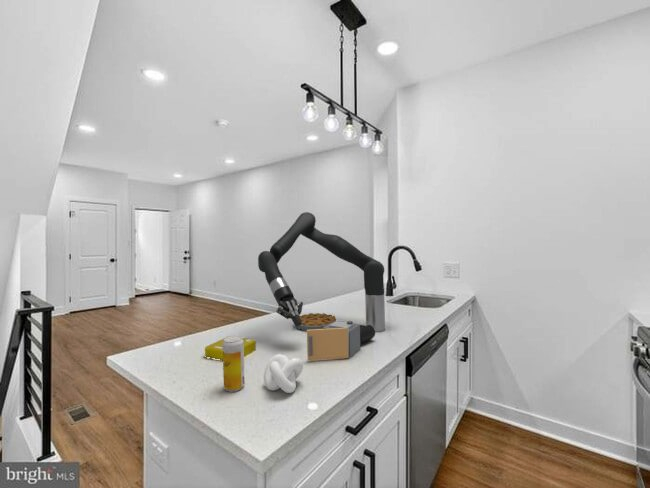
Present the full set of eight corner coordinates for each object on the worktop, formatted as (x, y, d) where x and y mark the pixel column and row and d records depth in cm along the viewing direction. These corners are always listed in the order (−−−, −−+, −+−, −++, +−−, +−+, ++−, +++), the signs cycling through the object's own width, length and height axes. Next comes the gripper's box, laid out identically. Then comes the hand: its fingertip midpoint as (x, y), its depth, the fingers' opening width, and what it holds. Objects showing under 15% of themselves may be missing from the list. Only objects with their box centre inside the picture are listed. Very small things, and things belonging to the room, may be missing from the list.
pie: (311, 318, 172) (311, 309, 172) (344, 324, 159) (344, 314, 159) (284, 328, 155) (284, 318, 154) (319, 335, 142) (319, 324, 142)
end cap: (361, 347, 125) (361, 331, 125) (348, 343, 130) (347, 327, 129) (375, 341, 132) (375, 325, 132) (362, 337, 137) (362, 322, 137)
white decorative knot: (303, 397, 86) (302, 366, 86) (260, 400, 85) (259, 368, 85) (303, 379, 98) (302, 351, 97) (265, 381, 97) (264, 353, 97)
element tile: (202, 358, 118) (202, 346, 118) (228, 345, 132) (228, 334, 131) (234, 363, 112) (234, 351, 112) (258, 349, 126) (257, 338, 126)
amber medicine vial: (226, 383, 96) (225, 336, 96) (246, 382, 96) (244, 335, 96) (221, 393, 90) (220, 342, 89) (242, 392, 90) (241, 341, 90)
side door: (307, 359, 112) (306, 329, 112) (349, 356, 114) (348, 327, 114) (307, 361, 110) (307, 331, 110) (350, 358, 112) (349, 329, 112)
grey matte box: (334, 345, 128) (334, 318, 128) (360, 349, 123) (359, 321, 122) (323, 353, 119) (322, 324, 119) (350, 358, 114) (349, 328, 114)
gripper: (290, 293, 138) (308, 326, 129) (264, 298, 129) (282, 334, 120) (297, 283, 133) (315, 316, 125) (270, 287, 124) (289, 324, 116)
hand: (299, 325), depth 123 cm, fingers closed
